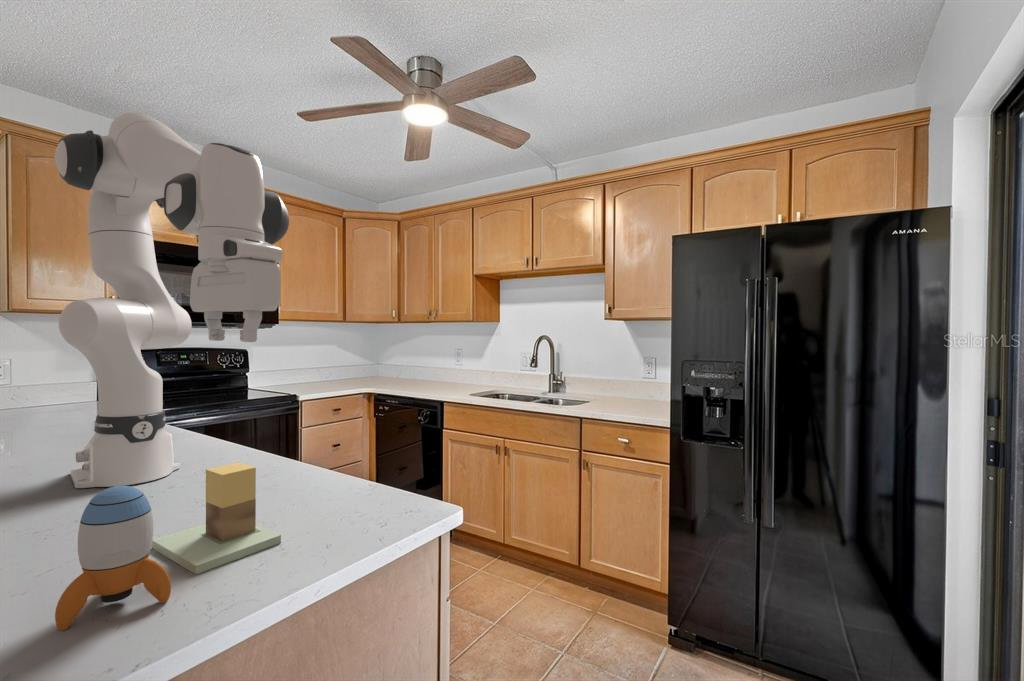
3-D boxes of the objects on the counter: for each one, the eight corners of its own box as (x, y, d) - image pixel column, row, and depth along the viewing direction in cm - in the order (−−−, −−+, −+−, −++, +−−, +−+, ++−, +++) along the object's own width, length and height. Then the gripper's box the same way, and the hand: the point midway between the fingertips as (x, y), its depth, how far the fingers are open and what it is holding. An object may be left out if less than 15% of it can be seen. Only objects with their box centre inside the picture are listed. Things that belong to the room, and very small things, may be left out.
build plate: (151, 547, 72) (151, 539, 72) (233, 522, 83) (233, 514, 83) (196, 574, 65) (196, 564, 65) (280, 542, 75) (280, 534, 75)
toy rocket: (98, 593, 62) (132, 474, 64) (184, 604, 63) (215, 487, 65) (28, 630, 52) (71, 487, 54) (132, 643, 53) (170, 502, 55)
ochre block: (205, 501, 75) (205, 469, 75) (238, 492, 79) (238, 462, 79) (222, 508, 72) (222, 475, 72) (255, 499, 76) (255, 467, 76)
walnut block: (205, 533, 75) (205, 501, 75) (238, 523, 79) (238, 492, 79) (222, 541, 72) (222, 508, 72) (255, 530, 76) (255, 499, 76)
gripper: (178, 254, 78) (178, 340, 78) (246, 242, 66) (246, 343, 67) (219, 259, 83) (219, 339, 83) (289, 249, 72) (289, 342, 72)
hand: (232, 341), depth 75 cm, fingers open, 8 cm apart
